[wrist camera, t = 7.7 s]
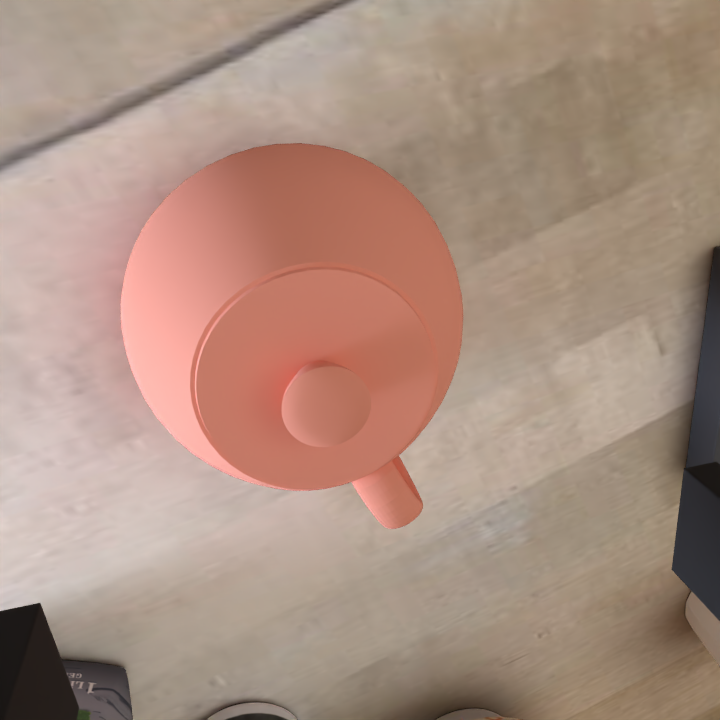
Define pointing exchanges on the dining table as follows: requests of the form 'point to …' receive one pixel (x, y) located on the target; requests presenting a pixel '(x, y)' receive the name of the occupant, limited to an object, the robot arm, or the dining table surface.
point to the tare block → (708, 382)
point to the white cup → (704, 625)
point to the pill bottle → (253, 712)
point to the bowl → (474, 715)
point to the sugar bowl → (295, 322)
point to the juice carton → (99, 690)
